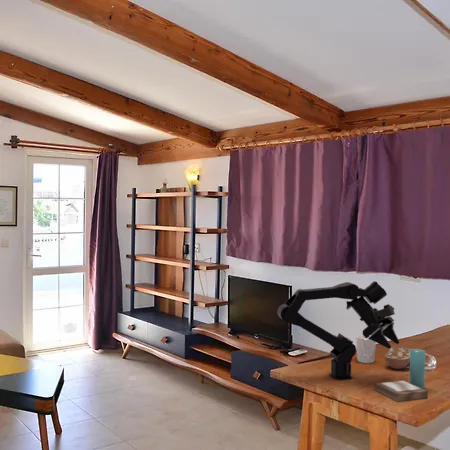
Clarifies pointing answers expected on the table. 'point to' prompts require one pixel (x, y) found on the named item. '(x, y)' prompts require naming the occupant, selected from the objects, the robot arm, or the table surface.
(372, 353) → the white cup
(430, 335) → the table surface
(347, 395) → the table surface
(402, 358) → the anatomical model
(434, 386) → the table surface
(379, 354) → the table surface
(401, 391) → the picture frame
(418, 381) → the teal cylinder
